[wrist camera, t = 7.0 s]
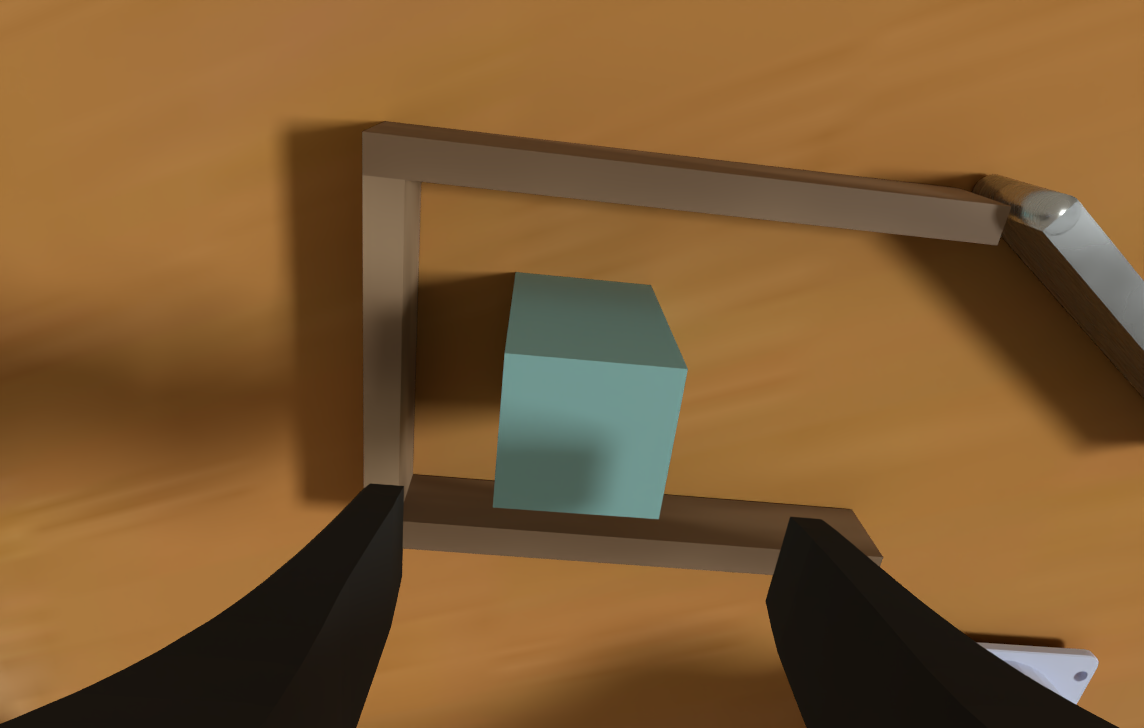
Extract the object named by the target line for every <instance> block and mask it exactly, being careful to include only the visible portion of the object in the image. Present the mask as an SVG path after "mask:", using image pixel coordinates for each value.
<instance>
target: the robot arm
mask: <svg viewBox="0 0 1144 728" xmlns="http://www.w3.org/2000/svg"><path fill="white" fill-rule="evenodd" d="M403 511H404V486H397V485H384V484H372V483H370V484H369V485H367V486H366V487H365V488H363V490H362V491H361V492H360V493H359V494H358V495H357V496H356V497H355V498H354V499H353V500H352V501H351V502H350V503H349V504H348V505H347V506H346V507H345V508H344V509H343V510H342V511H341V512H340V513H339V514H338V515H337V516H336V517H335V518H334V519H333V520H332V521H331V522H330V523H329V524H328V525H327V526H326V527H325V528H324V529H323V530H322V531H321V532H320V533H319V534H318V535H317V536H316V537H315V538H314V539H312V540H311V541H310V542H309V543H308V544H307V545H306V546H305V547H304V548H303V549H302V550H301V551H300V552H298V553H297V554H296V555H295V556H294V557H293V558H291V559H290V560H289V561H288V562H287V563H285V564H284V565H283V566H282V567H281V568H279V569H278V570H277V571H276V572H275V573H274V574H272V575H271V576H270V577H269V578H268V579H266V580H265V581H264V582H263V583H261V584H260V585H259V586H257V587H256V588H255V589H254V590H252V591H251V592H250V593H248V594H247V595H246V596H244V597H243V598H242V599H240V600H239V601H237V602H236V603H235V604H233V605H232V606H230V607H229V608H227V609H226V610H225V611H223V612H222V613H220V614H219V615H217V616H216V617H214V618H213V619H211V620H210V621H208V622H206V623H205V624H203V625H201V626H200V627H198V628H196V629H195V630H193V631H191V632H190V633H188V634H186V635H185V636H183V637H181V638H180V639H178V640H176V641H175V642H173V643H171V644H170V645H168V646H166V647H165V648H163V649H161V650H159V651H158V652H156V653H154V654H152V655H150V656H148V657H147V658H145V659H143V660H141V661H139V662H137V663H135V664H133V665H131V666H129V667H128V668H126V669H124V670H122V671H120V672H117V673H115V674H113V675H111V676H109V677H107V678H105V679H103V680H101V681H99V682H97V683H95V684H93V685H91V686H89V687H86V688H84V689H82V690H80V691H78V692H76V693H73V694H71V695H69V696H66V697H64V698H62V699H59V700H57V701H54V702H52V703H50V704H47V705H45V706H43V707H40V708H38V709H36V710H33V711H31V712H28V713H26V714H24V715H21V716H19V717H17V718H14V719H12V720H9V721H7V722H4V723H2V724H0V728H356V727H357V724H358V721H359V718H360V715H361V712H362V709H363V707H364V704H365V701H366V698H367V695H368V692H369V689H370V686H371V684H372V681H373V678H374V675H375V672H376V669H377V666H378V663H379V660H380V657H381V655H382V652H383V649H384V646H385V643H386V640H387V637H388V634H389V631H390V628H391V624H392V620H393V615H394V611H395V606H396V602H397V597H398V592H399V588H400V583H401V578H402V554H403ZM766 605H767V610H768V614H769V619H770V623H771V628H772V632H773V636H774V640H775V644H776V648H777V651H778V654H779V657H780V660H781V662H782V665H783V668H784V670H785V673H786V676H787V678H788V681H789V684H790V686H791V689H792V691H793V694H794V697H795V699H796V702H797V704H798V707H799V709H800V712H801V715H802V717H803V720H804V722H805V725H806V727H807V728H1119V727H1117V726H1115V725H1113V724H1111V723H1109V722H1107V721H1106V720H1104V719H1102V718H1100V717H1098V716H1096V715H1094V714H1092V713H1090V712H1089V711H1087V710H1085V709H1083V708H1081V707H1080V706H1078V705H1076V704H1077V702H1078V701H1079V699H1080V697H1081V695H1082V694H1083V692H1084V690H1085V688H1086V686H1087V685H1088V683H1089V681H1090V679H1091V678H1092V676H1093V674H1094V672H1095V671H1096V669H1097V667H1098V663H1099V662H1098V659H1097V658H1096V657H1095V656H1094V654H1093V653H1092V652H1090V651H1089V650H1085V649H1070V648H1055V647H1040V646H1024V645H1009V644H994V643H979V642H975V641H974V640H972V639H971V638H969V637H968V636H966V635H965V634H964V633H962V632H961V631H960V630H958V629H957V628H956V627H954V626H953V625H952V624H950V623H949V622H948V621H946V620H945V619H944V618H942V617H941V616H940V615H938V614H937V613H936V612H934V611H933V610H932V609H930V608H929V607H928V606H927V605H925V604H924V603H923V602H922V601H920V600H919V599H918V598H917V597H915V596H914V595H913V594H912V593H910V592H909V591H908V590H907V589H905V588H904V587H903V586H902V585H901V584H899V583H898V582H897V581H896V580H895V579H893V578H892V577H891V576H890V575H889V574H887V573H886V572H885V571H884V570H883V569H882V568H880V567H879V566H878V565H877V564H876V563H874V562H873V561H872V560H871V559H870V558H869V557H867V556H866V555H865V554H864V553H863V552H862V551H860V550H859V549H858V548H857V547H856V546H855V545H853V544H852V543H851V542H850V541H849V540H847V539H846V538H845V537H844V536H843V535H841V534H840V533H839V532H838V531H837V530H835V529H834V528H833V527H831V526H830V525H829V524H827V523H826V522H825V521H823V520H822V519H814V518H801V517H790V519H789V522H788V526H787V529H786V532H785V536H784V539H783V543H782V546H781V550H780V553H779V557H778V560H777V563H776V567H775V570H774V574H773V577H772V581H771V584H770V588H769V591H768V594H767V598H766Z"/></svg>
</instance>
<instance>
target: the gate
mask: <svg viewBox="0 0 1144 728" xmlns="http://www.w3.org/2000/svg"><path fill="white" fill-rule="evenodd" d="M972 193H974V194H977V195H980V196H983V197H986V198H989V199H992V200H995V201H997V202H1000V203H1003V204H1006V205H1009V206H1012V207H1011V209H1010V212H1009V215H1008V218H1007V220H1006V223H1005V226H1004V229H1003V231H1002V234H1001V236H1002V238H1003V239H1004V240H1005V241H1006V242H1007V243H1008V244H1009V245H1010V247H1011V248H1012V249H1013V250H1014V251H1015V252H1016V253H1017V255H1018V256H1019V257H1020V258H1021V259H1022V260H1023V261H1024V263H1025V264H1026V265H1027V266H1028V267H1029V268H1030V269H1031V271H1032V272H1033V273H1034V274H1035V275H1036V276H1037V277H1038V279H1039V280H1040V281H1041V282H1042V283H1043V284H1044V285H1045V287H1046V288H1047V289H1048V290H1049V291H1050V292H1051V293H1052V294H1053V296H1054V297H1055V298H1056V299H1057V300H1058V301H1059V302H1060V304H1061V305H1062V306H1063V307H1064V308H1065V309H1066V310H1067V312H1068V313H1069V314H1070V315H1071V316H1072V317H1073V318H1074V320H1075V321H1076V322H1077V323H1078V324H1079V325H1080V326H1081V328H1082V329H1083V330H1084V331H1085V332H1086V333H1087V334H1088V335H1089V337H1090V338H1091V339H1092V340H1093V341H1094V342H1095V343H1096V345H1097V346H1098V347H1099V348H1100V349H1101V350H1102V351H1103V353H1104V354H1105V355H1106V356H1107V357H1108V358H1109V359H1110V361H1111V362H1112V363H1113V364H1114V365H1115V366H1116V367H1117V369H1118V370H1119V371H1120V372H1121V373H1122V374H1123V375H1124V377H1125V378H1126V379H1127V380H1128V381H1129V382H1130V383H1131V384H1132V386H1133V387H1134V388H1135V389H1136V390H1137V391H1138V392H1139V394H1140V395H1141V396H1142V397H1143V398H1144V281H1143V280H1142V279H1141V277H1140V276H1139V275H1138V274H1137V272H1136V271H1135V270H1134V269H1133V267H1132V266H1131V265H1130V264H1129V262H1128V261H1127V260H1126V259H1125V258H1124V256H1123V255H1122V254H1121V253H1120V251H1119V250H1118V249H1117V248H1116V246H1115V245H1114V244H1113V243H1112V241H1111V240H1110V239H1109V238H1108V237H1107V235H1106V234H1105V233H1104V232H1103V230H1102V229H1101V228H1100V227H1099V225H1098V224H1097V223H1096V222H1095V221H1094V219H1093V218H1092V217H1091V216H1090V214H1089V213H1088V212H1087V211H1086V209H1085V208H1084V207H1083V206H1082V204H1081V203H1080V202H1079V201H1078V200H1077V199H1076V198H1075V197H1073V196H1070V195H1067V194H1063V193H1060V192H1056V191H1053V190H1049V189H1046V188H1042V187H1039V186H1035V185H1032V184H1028V183H1025V182H1021V181H1018V180H1014V179H1011V178H1007V177H1004V176H1000V175H996V174H992V175H988V176H985V177H983V178H982V179H981V180H979V181H978V182H977V184H976V185H975V187H974V189H973V191H972Z"/></svg>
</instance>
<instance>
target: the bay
mask: <svg viewBox="0 0 1144 728" xmlns="http://www.w3.org/2000/svg"><path fill="white" fill-rule="evenodd" d="M421 182H429V183H438V184H447V185H456V186H465V187H474V188H483V189H492V190H501V191H510V192H519V193H529V194H538V195H547V196H556V197H565V198H574V199H583V200H592V201H601V202H610V203H619V204H628V205H637V206H646V207H655V208H664V209H673V210H682V211H691V212H700V213H709V214H718V215H727V216H736V217H745V218H754V219H763V220H773V221H782V222H791V223H800V224H809V225H818V226H827V227H836V228H845V229H854V230H863V231H872V232H881V233H890V234H899V235H908V236H917V237H926V238H935V239H944V240H953V241H962V242H971V243H980V244H989V245H998V242H999V239H1000V237H1001V234H1002V231H1003V229H1004V226H1005V223H1006V220H1007V218H1008V215H1009V212H1010V209H1011V207H1012V206H1009V205H1006V204H1003V203H1000V202H997V201H995V200H992V199H989V198H986V197H983V196H980V195H977V194H974V193H971V192H968V191H966V190H963V189H960V188H953V187H945V186H936V185H927V184H919V183H910V182H902V181H893V180H885V179H876V178H867V177H859V176H850V175H842V174H833V173H825V172H816V171H807V170H799V169H790V168H782V167H773V166H764V165H756V164H747V163H739V162H730V161H722V160H713V159H704V158H696V157H687V156H679V155H670V154H662V153H653V152H644V151H636V150H627V149H619V148H610V147H602V146H593V145H584V144H576V143H567V142H559V141H550V140H541V139H533V138H524V137H516V136H507V135H499V134H490V133H481V132H473V131H464V130H456V129H447V128H439V127H430V126H421V125H413V124H404V123H396V122H387V121H384V122H382V123H380V124H378V125H375V126H373V127H371V128H369V129H367V130H365V131H362V195H363V426H364V488H365V487H366V486H367V485H369V484H370V483H372V484H384V485H397V486H404V511H403V548H404V549H417V550H431V551H445V552H459V553H473V554H487V555H501V556H515V557H529V558H543V559H557V560H571V561H584V562H598V563H612V564H626V565H640V566H654V567H668V568H682V569H696V570H710V571H724V572H738V573H751V574H765V575H773V574H774V570H775V567H776V563H777V560H778V557H779V553H780V550H781V546H782V543H783V539H784V536H785V532H786V529H787V526H788V522H789V519H790V517H801V518H814V519H822V520H823V521H825V522H826V523H827V524H829V525H830V526H831V527H833V528H834V529H835V530H837V531H838V532H839V533H840V534H841V535H843V536H844V537H845V538H846V539H847V540H849V541H850V542H851V543H852V544H853V545H855V546H856V547H857V548H858V549H859V550H860V551H862V552H863V553H864V554H865V555H866V556H867V557H869V558H870V559H871V560H872V561H873V562H874V563H876V564H877V565H878V566H879V567H880V564H881V562H882V559H883V556H882V555H881V553H880V552H879V550H878V549H877V547H876V546H875V544H874V543H873V541H872V539H871V538H870V536H869V535H868V533H867V532H866V530H865V529H864V527H863V526H862V524H861V523H860V521H859V520H858V518H857V517H856V515H855V514H854V512H853V511H852V510H851V509H838V508H826V507H813V506H801V505H788V504H776V503H763V502H751V501H738V500H726V499H713V498H700V497H688V496H675V495H663V500H662V505H661V510H660V515H659V519H648V518H634V517H620V516H606V515H592V514H578V513H564V512H550V511H536V510H521V509H507V508H493V497H494V484H495V481H487V480H475V479H462V478H450V477H437V476H424V475H413V448H414V414H415V379H416V344H417V309H418V274H419V239H420V205H421Z"/></svg>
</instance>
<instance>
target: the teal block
mask: <svg viewBox="0 0 1144 728" xmlns="http://www.w3.org/2000/svg"><path fill="white" fill-rule="evenodd" d="M687 370H688V369H687V366H686V364H685V362H684V360H683V357H682V355H681V353H680V350H679V348H678V346H677V344H676V341H675V339H674V337H673V334H672V332H671V330H670V328H669V325H668V323H667V321H666V318H665V316H664V314H663V312H662V309H661V307H660V305H659V303H658V300H657V298H656V296H655V293H654V291H653V289H652V287H651V285H644V284H634V283H623V282H613V281H603V280H592V279H582V278H572V277H561V276H551V275H540V274H530V273H520V272H516V273H515V281H514V288H513V295H512V303H511V310H510V317H509V325H508V332H507V340H506V347H505V355H504V368H503V381H502V394H501V407H500V420H499V433H498V446H497V459H496V471H495V484H494V497H493V508H507V509H521V510H536V511H550V512H564V513H578V514H592V515H606V516H620V517H634V518H648V519H659V515H660V510H661V505H662V500H663V495H664V489H665V484H666V479H667V474H668V469H669V464H670V458H671V453H672V448H673V443H674V438H675V432H676V427H677V422H678V417H679V412H680V407H681V401H682V396H683V391H684V386H685V381H686V375H687Z"/></svg>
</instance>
